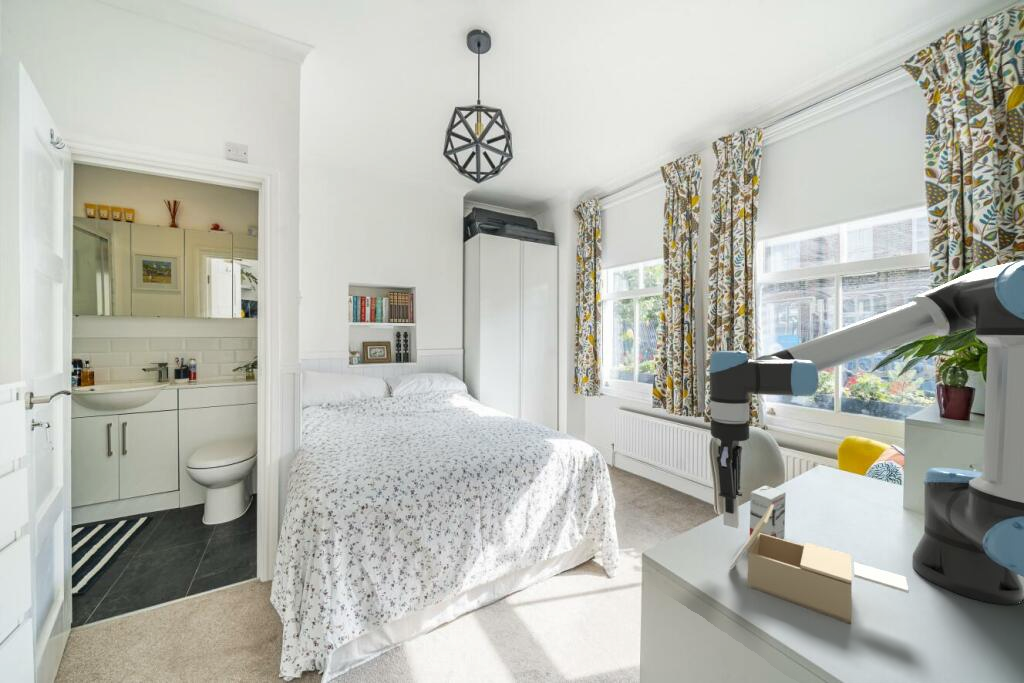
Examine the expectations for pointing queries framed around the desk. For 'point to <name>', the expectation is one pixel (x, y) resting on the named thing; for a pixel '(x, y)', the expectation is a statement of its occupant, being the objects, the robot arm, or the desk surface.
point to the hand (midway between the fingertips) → (731, 525)
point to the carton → (795, 578)
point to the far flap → (753, 535)
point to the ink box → (760, 505)
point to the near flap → (847, 567)
